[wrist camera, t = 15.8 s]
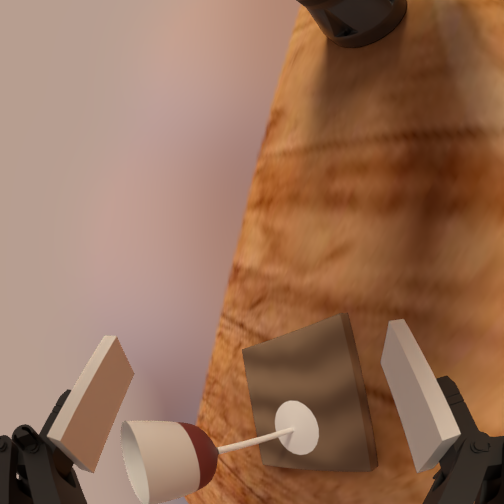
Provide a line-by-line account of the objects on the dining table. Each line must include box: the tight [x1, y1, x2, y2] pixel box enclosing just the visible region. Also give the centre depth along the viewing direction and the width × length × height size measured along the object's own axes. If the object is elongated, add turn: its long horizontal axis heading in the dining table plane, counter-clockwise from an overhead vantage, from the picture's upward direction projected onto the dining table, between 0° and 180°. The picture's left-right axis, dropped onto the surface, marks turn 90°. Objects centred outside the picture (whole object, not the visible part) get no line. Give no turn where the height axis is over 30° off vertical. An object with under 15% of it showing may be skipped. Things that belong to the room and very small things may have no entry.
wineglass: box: [121, 400, 319, 504], centre depth 26 cm, size 8×9×20 cm
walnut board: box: [242, 313, 378, 472], centre depth 33 cm, size 18×18×2 cm
